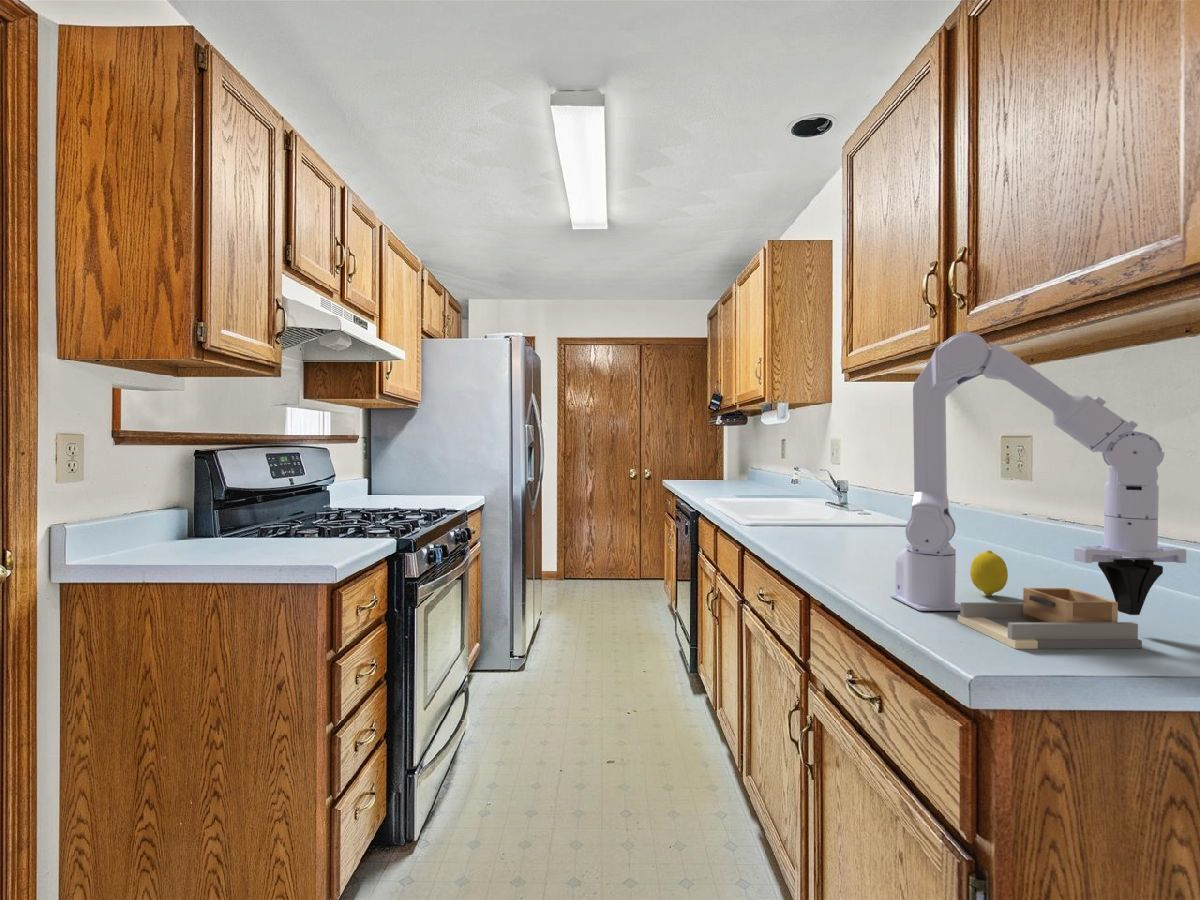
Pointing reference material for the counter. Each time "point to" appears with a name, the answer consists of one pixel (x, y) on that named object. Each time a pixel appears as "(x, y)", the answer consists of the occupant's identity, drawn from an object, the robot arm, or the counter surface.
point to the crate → (1067, 606)
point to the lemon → (989, 572)
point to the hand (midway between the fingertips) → (1128, 613)
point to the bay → (1044, 629)
